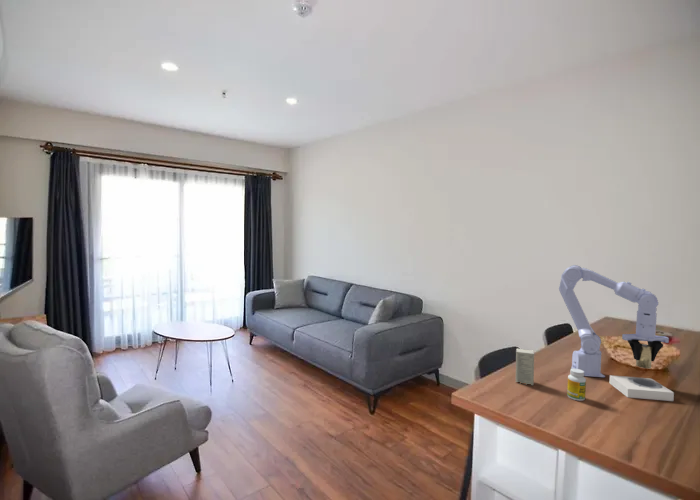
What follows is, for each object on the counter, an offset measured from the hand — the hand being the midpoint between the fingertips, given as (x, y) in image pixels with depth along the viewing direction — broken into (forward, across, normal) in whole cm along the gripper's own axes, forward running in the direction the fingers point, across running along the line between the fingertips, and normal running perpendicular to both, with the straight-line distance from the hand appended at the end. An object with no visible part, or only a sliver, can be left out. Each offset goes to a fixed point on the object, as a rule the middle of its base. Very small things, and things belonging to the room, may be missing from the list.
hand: (643, 359), depth 137 cm
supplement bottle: (+10, -30, -17) cm, 36 cm away
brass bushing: (+2, 0, 0) cm, 2 cm away
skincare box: (+10, -44, -7) cm, 46 cm away
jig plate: (+9, -5, -7) cm, 13 cm away
